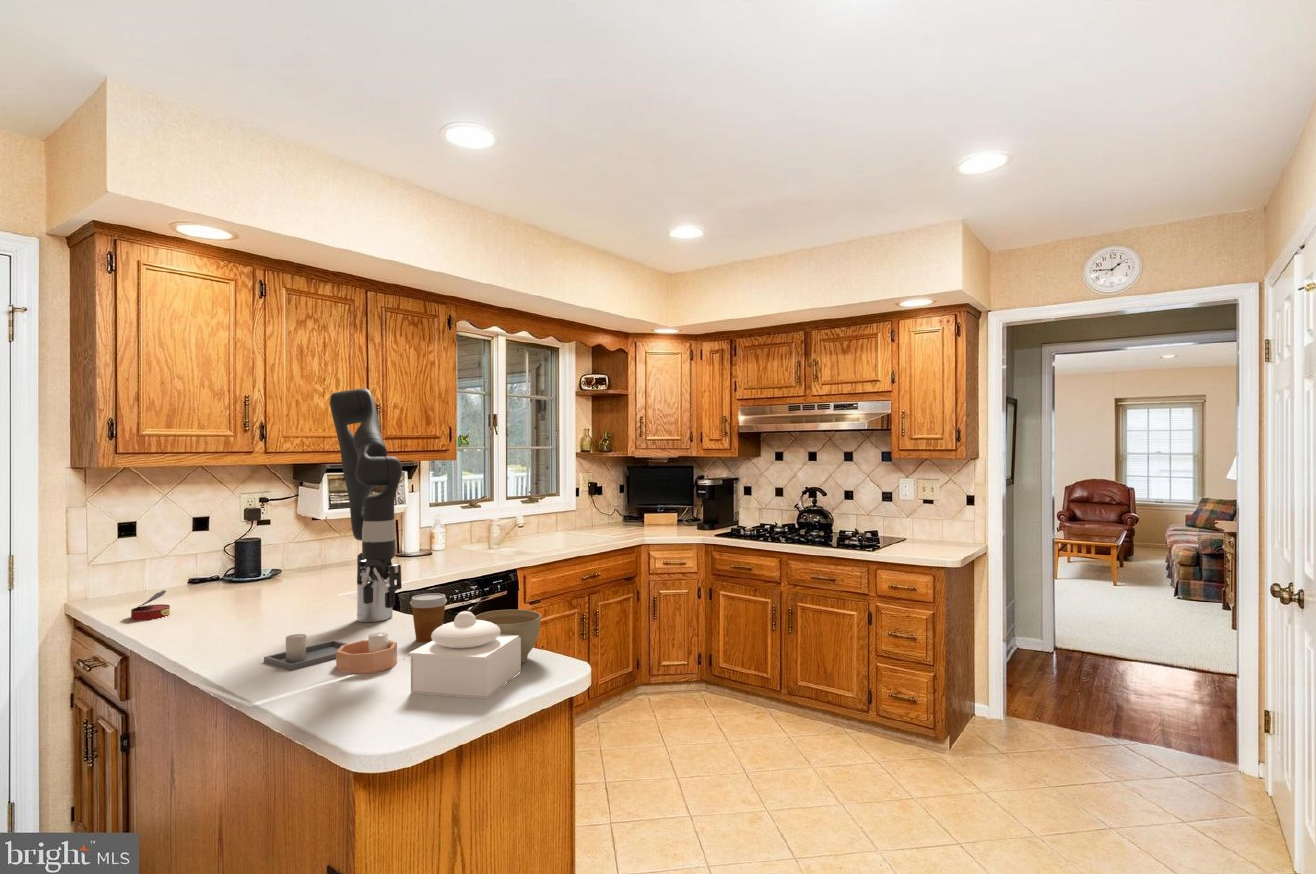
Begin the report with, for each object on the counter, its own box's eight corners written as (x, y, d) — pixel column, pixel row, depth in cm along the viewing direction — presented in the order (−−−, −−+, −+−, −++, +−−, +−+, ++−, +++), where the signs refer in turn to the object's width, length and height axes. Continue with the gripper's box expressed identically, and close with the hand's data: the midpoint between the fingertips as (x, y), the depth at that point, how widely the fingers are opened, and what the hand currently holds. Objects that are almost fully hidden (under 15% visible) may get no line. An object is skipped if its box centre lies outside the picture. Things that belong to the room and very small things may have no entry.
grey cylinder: (299, 657, 172) (300, 633, 172) (309, 660, 169) (309, 635, 169) (281, 662, 168) (282, 637, 168) (291, 665, 166) (291, 639, 166)
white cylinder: (380, 656, 172) (380, 631, 172) (391, 658, 170) (391, 634, 170) (364, 660, 168) (364, 635, 168) (375, 663, 166) (375, 638, 166)
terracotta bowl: (375, 654, 176) (375, 636, 176) (408, 663, 169) (408, 644, 169) (325, 668, 165) (325, 649, 165) (358, 678, 158) (358, 658, 158)
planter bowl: (538, 670, 163) (538, 623, 163) (467, 672, 161) (467, 625, 162) (543, 650, 179) (543, 608, 179) (479, 652, 177) (479, 609, 178)
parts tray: (334, 646, 183) (334, 640, 183) (361, 654, 176) (361, 647, 176) (263, 664, 168) (263, 657, 168) (290, 673, 161) (290, 665, 162)
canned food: (147, 636, 213) (131, 610, 209) (131, 628, 218) (116, 603, 214) (184, 612, 222) (169, 587, 217) (168, 605, 227) (154, 581, 222)
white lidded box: (520, 673, 161) (520, 604, 161) (485, 700, 144) (485, 623, 144) (451, 668, 165) (451, 601, 165) (408, 694, 147) (408, 619, 148)
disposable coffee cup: (412, 648, 182) (412, 601, 182) (407, 639, 190) (407, 595, 190) (450, 643, 186) (450, 598, 186) (443, 635, 194) (443, 591, 195)
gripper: (410, 538, 169) (410, 606, 169) (374, 534, 177) (374, 599, 177) (383, 542, 163) (383, 612, 162) (347, 538, 170) (347, 604, 170)
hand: (378, 605), depth 170 cm, fingers open, 8 cm apart
